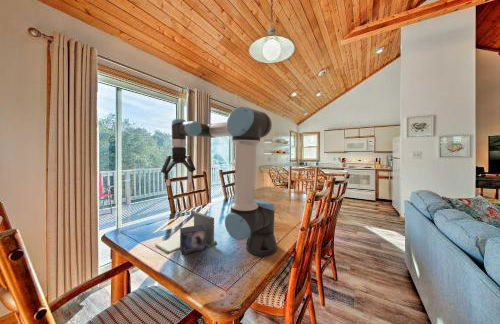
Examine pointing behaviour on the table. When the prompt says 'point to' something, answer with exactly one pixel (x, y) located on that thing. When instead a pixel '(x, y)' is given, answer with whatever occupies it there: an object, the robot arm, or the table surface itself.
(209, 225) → the screen
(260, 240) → the robot arm
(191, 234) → the small box
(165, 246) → the pad
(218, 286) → the table surface
